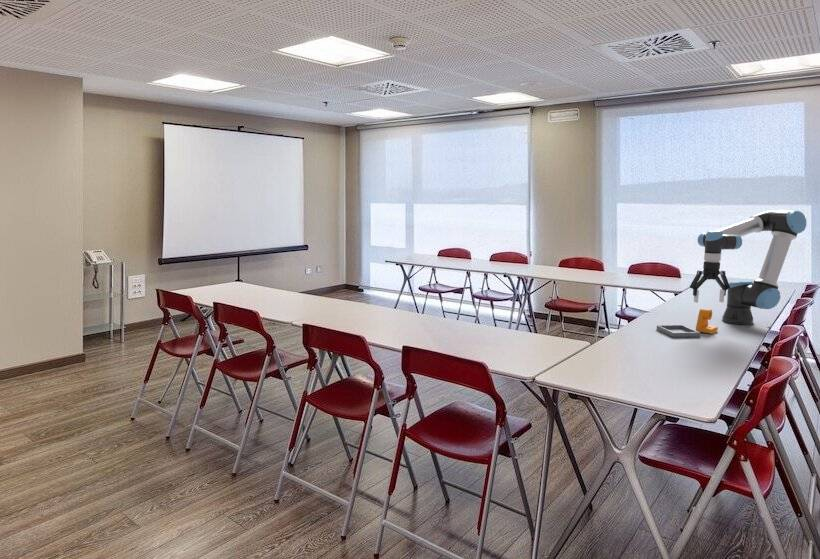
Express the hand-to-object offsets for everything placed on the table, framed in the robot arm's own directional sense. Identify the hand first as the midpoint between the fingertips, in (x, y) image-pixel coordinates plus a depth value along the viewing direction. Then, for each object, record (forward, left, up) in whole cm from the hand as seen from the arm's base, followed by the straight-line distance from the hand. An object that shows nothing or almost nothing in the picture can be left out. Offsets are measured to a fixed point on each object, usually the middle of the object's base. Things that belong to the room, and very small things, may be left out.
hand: (708, 302), depth 294 cm
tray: (+17, +2, -16) cm, 23 cm away
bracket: (0, 0, -16) cm, 16 cm away
